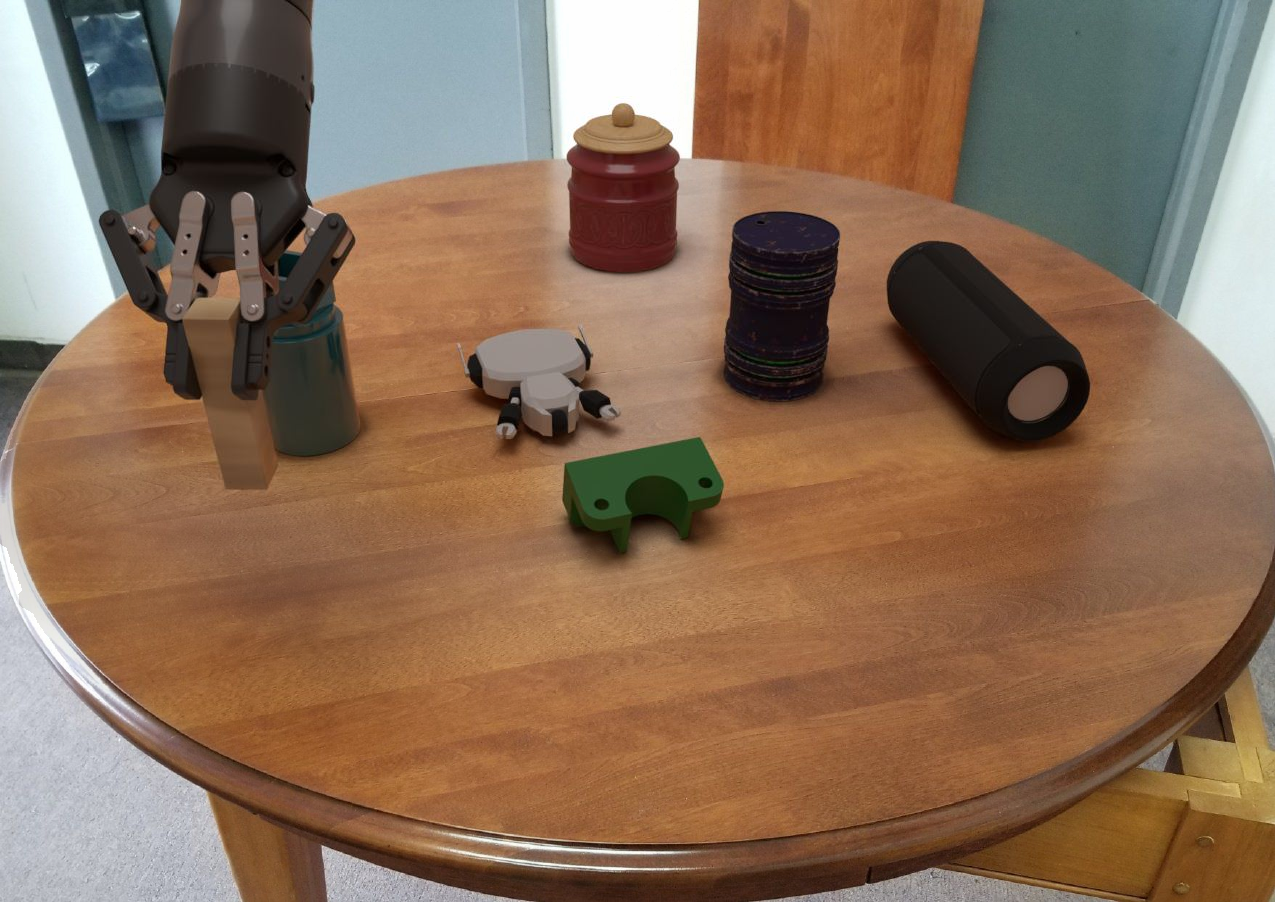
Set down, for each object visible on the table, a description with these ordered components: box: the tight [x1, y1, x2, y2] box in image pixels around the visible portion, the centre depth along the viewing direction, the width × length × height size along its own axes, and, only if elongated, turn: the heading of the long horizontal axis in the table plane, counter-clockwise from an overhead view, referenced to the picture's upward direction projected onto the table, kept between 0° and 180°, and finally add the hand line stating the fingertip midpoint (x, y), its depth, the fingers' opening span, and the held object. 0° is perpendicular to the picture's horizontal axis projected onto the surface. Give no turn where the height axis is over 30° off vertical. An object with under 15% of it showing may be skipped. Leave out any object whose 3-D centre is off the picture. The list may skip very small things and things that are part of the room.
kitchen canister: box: [565, 102, 681, 273], centre depth 124 cm, size 13×13×18 cm
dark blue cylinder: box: [723, 210, 841, 402], centre depth 100 cm, size 10×10×15 cm
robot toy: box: [456, 324, 622, 440], centre depth 98 cm, size 12×4×15 cm
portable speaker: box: [886, 240, 1091, 442], centre depth 101 cm, size 26×10×10 cm, turn 11°
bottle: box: [237, 249, 362, 457], centre depth 91 cm, size 8×8×16 cm
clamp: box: [561, 436, 725, 554], centre depth 83 cm, size 12×6×9 cm, turn 104°
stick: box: [182, 297, 279, 491], centre depth 59 cm, size 2×2×11 cm
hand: (216, 395), depth 56 cm, fingers closed on stick, 2 cm apart
